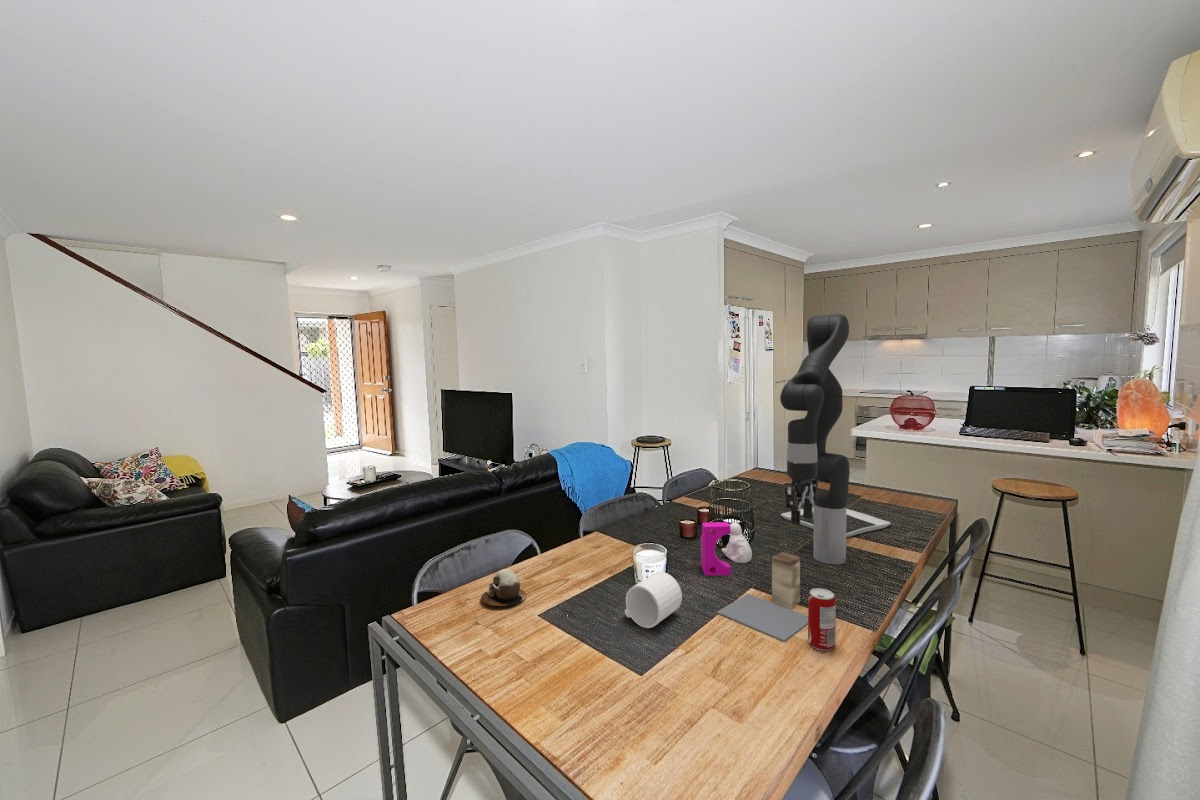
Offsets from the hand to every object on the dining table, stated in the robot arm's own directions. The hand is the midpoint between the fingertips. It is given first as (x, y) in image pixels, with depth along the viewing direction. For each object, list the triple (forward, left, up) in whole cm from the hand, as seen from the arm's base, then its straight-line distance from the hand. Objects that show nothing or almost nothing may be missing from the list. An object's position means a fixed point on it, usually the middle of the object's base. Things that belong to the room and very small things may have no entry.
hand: (801, 520), depth 134 cm
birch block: (+9, 0, -20) cm, 21 cm away
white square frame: (-59, -17, -20) cm, 65 cm away
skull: (+64, -53, -22) cm, 86 cm away
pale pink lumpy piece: (-6, -24, -20) cm, 31 cm away
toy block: (+9, -26, -12) cm, 30 cm away
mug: (+34, -20, -15) cm, 42 cm away
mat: (+19, 0, -20) cm, 27 cm away
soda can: (+21, +15, -20) cm, 33 cm away
